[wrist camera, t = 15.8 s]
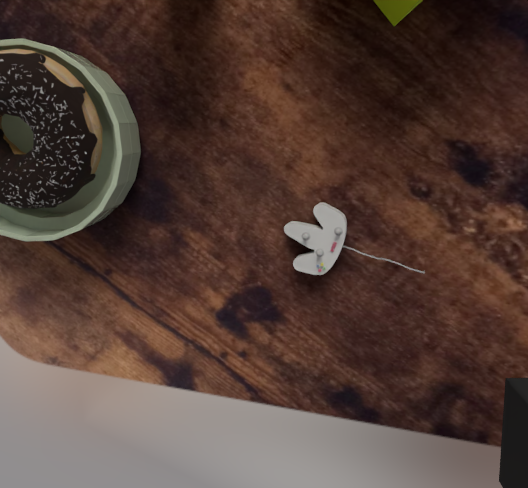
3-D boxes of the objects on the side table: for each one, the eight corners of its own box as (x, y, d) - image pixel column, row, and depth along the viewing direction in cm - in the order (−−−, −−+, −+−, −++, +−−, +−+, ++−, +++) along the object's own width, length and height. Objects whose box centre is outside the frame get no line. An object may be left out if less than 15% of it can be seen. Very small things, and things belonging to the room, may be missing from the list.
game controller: (285, 200, 40) (285, 204, 37) (430, 203, 39) (439, 208, 37) (283, 268, 41) (283, 277, 38) (423, 272, 40) (432, 281, 38)
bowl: (-43, 56, 39) (-92, 46, 34) (131, 44, 38) (107, 32, 33) (-11, 231, 42) (-51, 244, 37) (151, 224, 41) (131, 237, 36)
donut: (-66, 93, 36) (-111, 106, 33) (45, 9, 32) (7, 15, 28) (31, 216, 40) (0, 240, 37) (142, 157, 36) (119, 178, 32)
